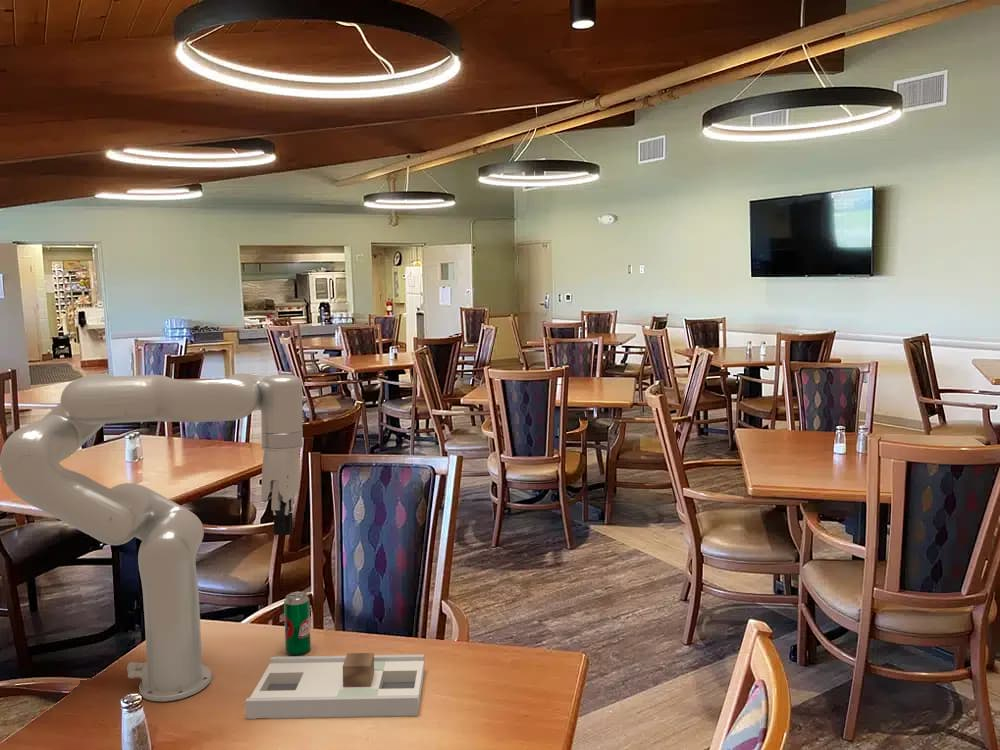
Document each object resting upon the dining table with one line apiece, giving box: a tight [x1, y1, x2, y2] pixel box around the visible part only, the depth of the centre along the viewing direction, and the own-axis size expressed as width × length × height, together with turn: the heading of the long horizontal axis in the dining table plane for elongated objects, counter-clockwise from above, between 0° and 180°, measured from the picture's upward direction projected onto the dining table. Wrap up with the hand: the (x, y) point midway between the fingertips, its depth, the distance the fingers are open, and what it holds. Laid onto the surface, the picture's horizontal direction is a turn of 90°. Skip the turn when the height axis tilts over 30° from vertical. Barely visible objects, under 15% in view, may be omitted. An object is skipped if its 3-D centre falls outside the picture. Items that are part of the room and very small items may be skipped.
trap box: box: [245, 653, 426, 720], centre depth 138 cm, size 30×16×3 cm, turn 91°
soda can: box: [283, 591, 312, 657], centre depth 154 cm, size 5×5×12 cm
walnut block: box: [343, 652, 375, 687], centre depth 138 cm, size 5×5×4 cm
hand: (283, 533), depth 143 cm, fingers closed
